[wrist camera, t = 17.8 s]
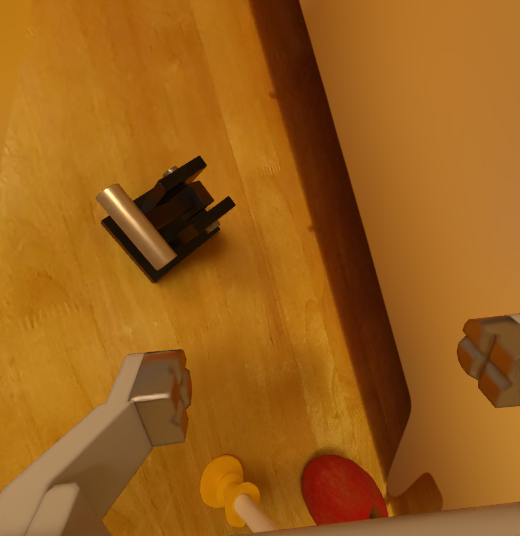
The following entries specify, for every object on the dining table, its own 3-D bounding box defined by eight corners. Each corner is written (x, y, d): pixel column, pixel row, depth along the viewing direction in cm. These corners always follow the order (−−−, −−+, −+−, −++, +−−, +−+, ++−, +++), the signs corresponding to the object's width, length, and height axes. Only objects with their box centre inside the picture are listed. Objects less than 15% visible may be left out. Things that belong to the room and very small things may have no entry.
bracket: (152, 283, 34) (184, 270, 24) (100, 223, 32) (112, 182, 22) (216, 231, 39) (266, 202, 29) (174, 176, 37) (212, 125, 27)
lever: (147, 278, 18) (178, 256, 17) (84, 206, 17) (114, 178, 16) (204, 228, 29) (224, 213, 28) (169, 182, 28) (189, 166, 27)
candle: (193, 507, 33) (272, 635, 20) (205, 453, 35) (287, 540, 21) (236, 505, 36) (332, 619, 22) (246, 455, 37) (342, 534, 24)
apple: (301, 528, 40) (370, 593, 30) (282, 468, 39) (345, 516, 30) (345, 486, 44) (416, 532, 35) (327, 432, 43) (395, 464, 34)
